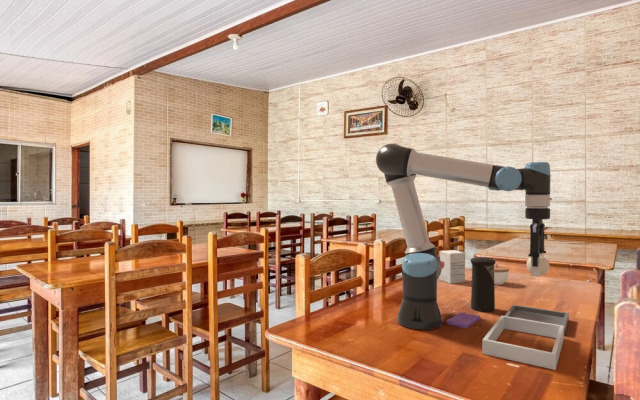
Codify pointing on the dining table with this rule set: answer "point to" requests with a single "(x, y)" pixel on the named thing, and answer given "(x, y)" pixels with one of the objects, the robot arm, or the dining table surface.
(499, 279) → the lidded jar
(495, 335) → the light grey rectangular frame
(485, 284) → the container
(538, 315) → the slate tray
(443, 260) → the supplement box
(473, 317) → the sponges
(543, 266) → the cream round ball
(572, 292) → the dining table surface
